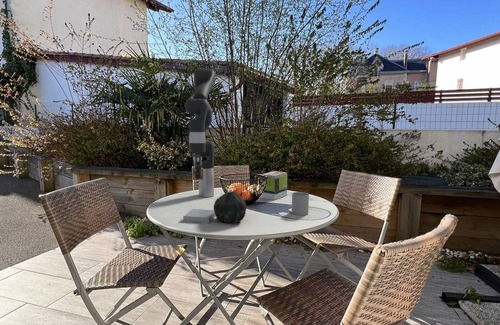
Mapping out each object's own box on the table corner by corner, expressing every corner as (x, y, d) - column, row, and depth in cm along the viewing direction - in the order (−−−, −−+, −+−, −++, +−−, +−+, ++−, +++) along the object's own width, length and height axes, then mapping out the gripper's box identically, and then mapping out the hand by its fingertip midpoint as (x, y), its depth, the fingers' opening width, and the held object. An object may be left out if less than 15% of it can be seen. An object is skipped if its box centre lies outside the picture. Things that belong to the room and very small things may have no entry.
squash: (229, 202, 155) (217, 183, 145) (255, 207, 148) (245, 188, 138) (215, 226, 148) (202, 208, 138) (242, 233, 140) (231, 215, 130)
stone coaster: (192, 213, 154) (192, 208, 154) (216, 215, 152) (216, 210, 152) (183, 221, 142) (183, 216, 142) (208, 223, 140) (208, 217, 140)
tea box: (273, 193, 200) (274, 170, 198) (287, 195, 194) (288, 172, 192) (260, 197, 188) (260, 173, 186) (274, 200, 182) (275, 175, 180)
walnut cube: (202, 177, 151) (202, 167, 151) (203, 179, 147) (203, 168, 146) (192, 178, 150) (192, 167, 150) (192, 179, 146) (192, 169, 145)
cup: (297, 216, 151) (298, 196, 150) (288, 212, 159) (288, 192, 157) (311, 214, 155) (312, 194, 154) (301, 210, 163) (302, 191, 161)
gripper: (206, 142, 141) (206, 180, 142) (204, 141, 155) (204, 175, 156) (189, 142, 139) (189, 180, 141) (189, 141, 153) (189, 175, 155)
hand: (197, 177), depth 148 cm, fingers closed on walnut cube, 5 cm apart
